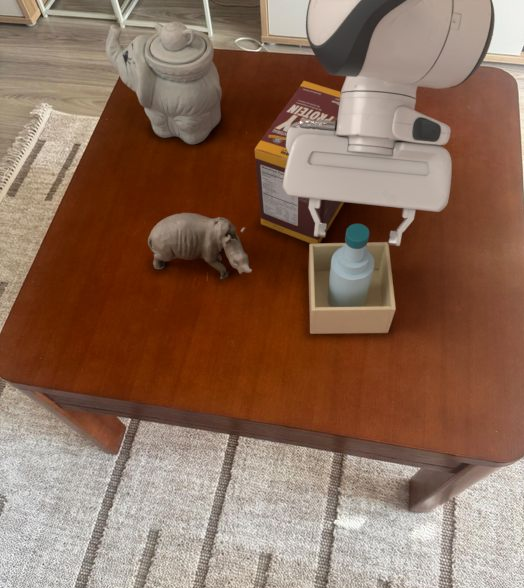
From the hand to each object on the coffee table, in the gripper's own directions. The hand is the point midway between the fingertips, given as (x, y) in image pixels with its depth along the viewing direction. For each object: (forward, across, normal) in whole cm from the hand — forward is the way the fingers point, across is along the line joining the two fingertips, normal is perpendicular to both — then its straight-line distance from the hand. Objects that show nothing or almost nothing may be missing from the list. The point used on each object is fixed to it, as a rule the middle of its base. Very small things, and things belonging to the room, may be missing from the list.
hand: (356, 240), depth 67 cm
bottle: (+9, 0, +7) cm, 12 cm away
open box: (+10, 0, +7) cm, 12 cm away
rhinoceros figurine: (+7, -22, +10) cm, 25 cm away
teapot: (-14, -35, +31) cm, 49 cm away
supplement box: (-3, -8, +20) cm, 22 cm away
